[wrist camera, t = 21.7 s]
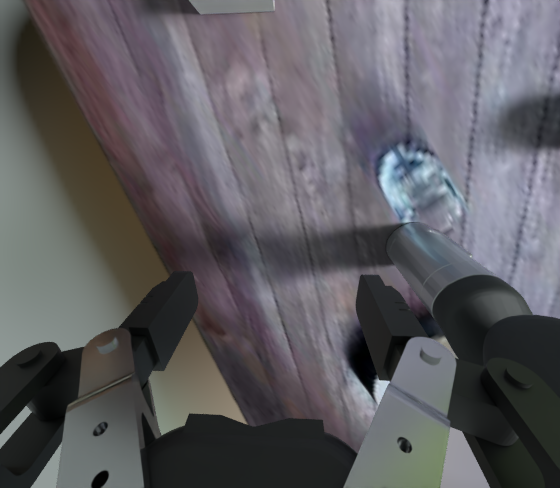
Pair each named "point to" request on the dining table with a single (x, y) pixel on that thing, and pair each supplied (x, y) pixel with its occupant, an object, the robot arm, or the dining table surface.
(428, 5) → the dining table surface
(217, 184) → the dining table surface
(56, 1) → the dining table surface
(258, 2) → the white grey stepped block
